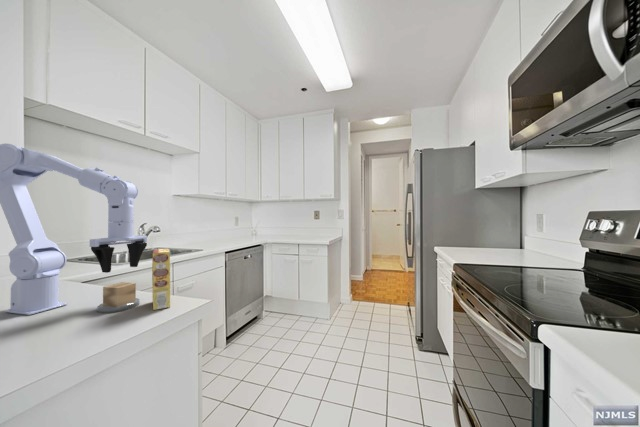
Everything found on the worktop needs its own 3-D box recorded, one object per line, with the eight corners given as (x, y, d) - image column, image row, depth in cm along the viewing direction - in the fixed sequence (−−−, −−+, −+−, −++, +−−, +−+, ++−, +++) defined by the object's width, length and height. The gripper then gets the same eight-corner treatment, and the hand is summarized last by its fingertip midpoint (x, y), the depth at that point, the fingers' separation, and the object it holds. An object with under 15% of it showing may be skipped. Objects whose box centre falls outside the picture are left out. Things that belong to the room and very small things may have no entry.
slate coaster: (88, 311, 65) (88, 307, 65) (122, 300, 74) (123, 296, 74) (114, 314, 63) (114, 310, 63) (147, 302, 72) (147, 298, 72)
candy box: (170, 307, 67) (170, 251, 68) (151, 311, 65) (152, 252, 65) (169, 298, 75) (169, 248, 75) (152, 301, 72) (152, 249, 73)
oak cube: (102, 305, 66) (103, 287, 66) (121, 299, 71) (121, 282, 71) (117, 307, 65) (117, 288, 65) (135, 300, 70) (135, 283, 70)
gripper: (103, 222, 63) (103, 275, 63) (154, 221, 77) (154, 265, 77) (83, 222, 65) (83, 274, 65) (137, 221, 79) (137, 264, 79)
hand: (120, 269), depth 71 cm, fingers open, 7 cm apart
